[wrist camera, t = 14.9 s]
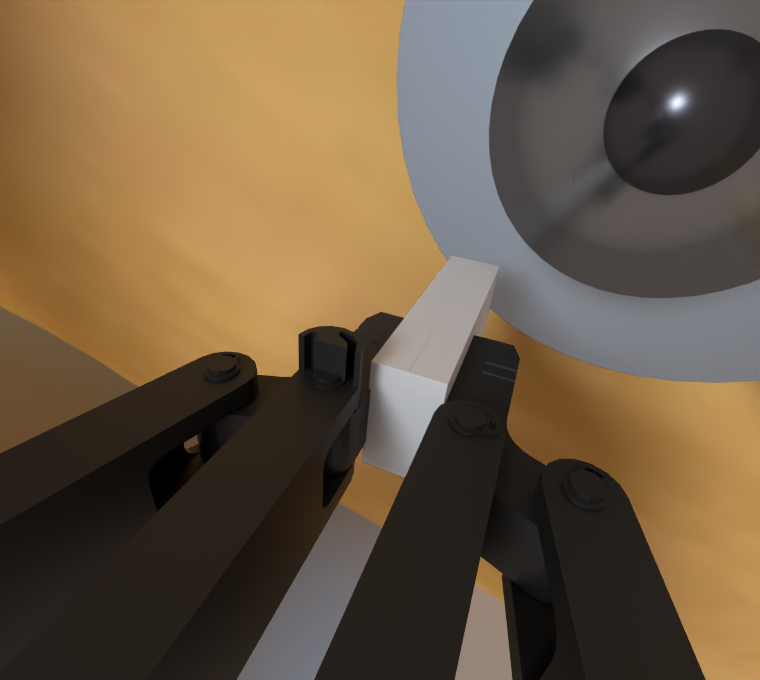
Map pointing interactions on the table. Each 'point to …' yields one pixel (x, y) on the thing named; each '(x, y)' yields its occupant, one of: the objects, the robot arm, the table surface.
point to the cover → (634, 142)
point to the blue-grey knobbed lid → (502, 242)
